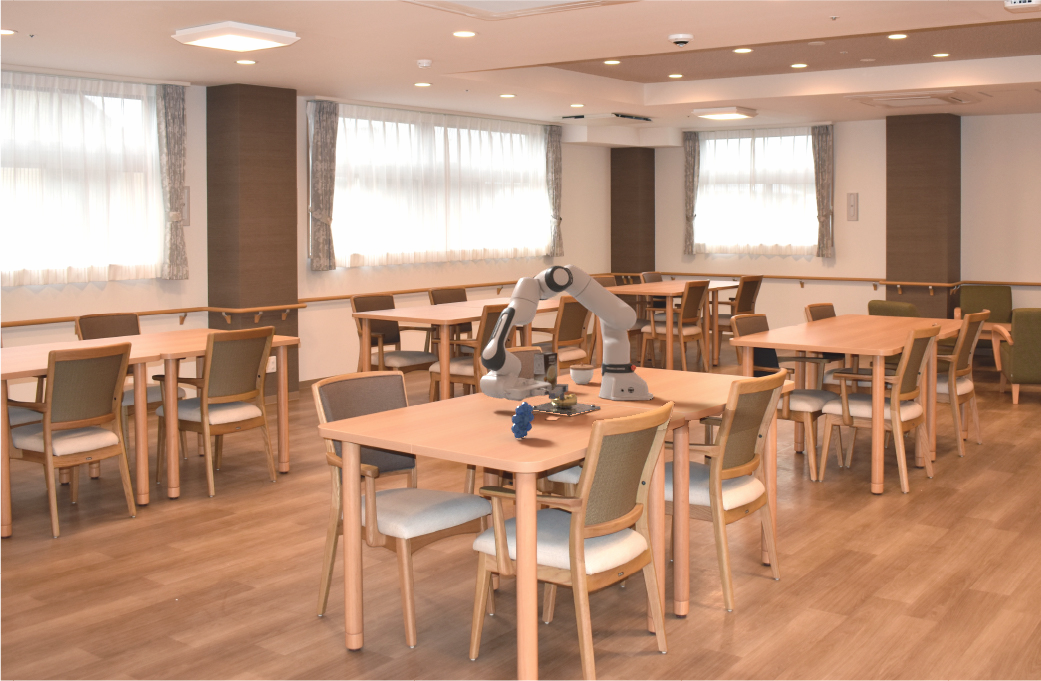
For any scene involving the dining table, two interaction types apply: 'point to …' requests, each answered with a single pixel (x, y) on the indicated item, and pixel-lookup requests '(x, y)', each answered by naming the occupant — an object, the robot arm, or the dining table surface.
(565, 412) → the dark square board
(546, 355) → the coffee box
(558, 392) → the lever valve
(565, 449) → the dining table surface
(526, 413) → the grapes
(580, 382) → the lidded jar
